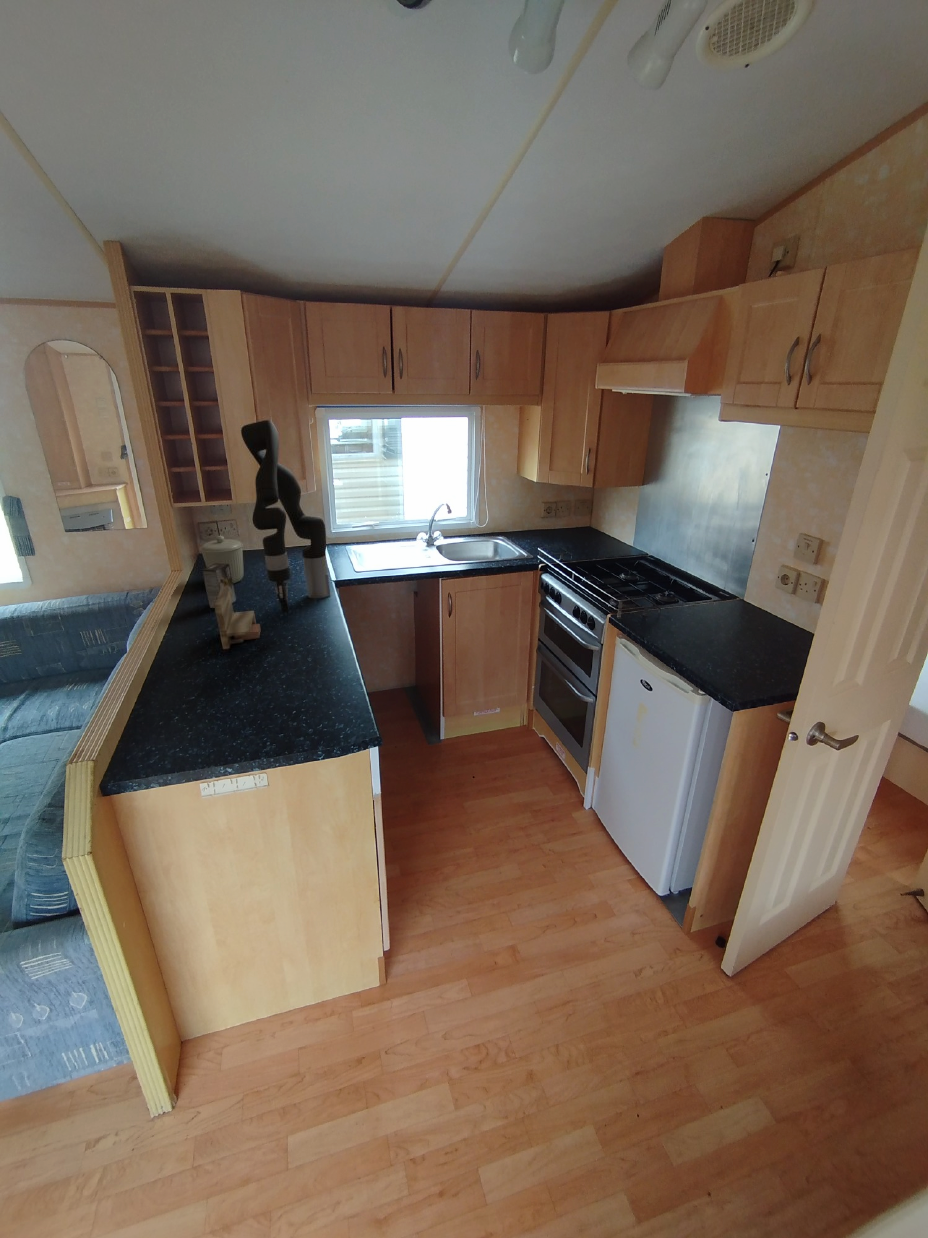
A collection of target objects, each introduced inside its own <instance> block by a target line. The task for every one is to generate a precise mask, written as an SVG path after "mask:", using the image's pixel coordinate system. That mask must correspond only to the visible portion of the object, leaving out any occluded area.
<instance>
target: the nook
mask: <svg viewBox="0 0 928 1238" xmlns="http://www.w3.org/2000/svg"><path fill="white" fill-rule="evenodd" d="M214 607H215V608H214V611H215V616H216V620H217V624H218V625H217V626H218V632H219V635H220V641H221V645H222V649H223V650H228V649H230V647H231V645H232V644H241V643H244V640H243V638H236V639H235V638H234V635H244V634H249V632H250V628H251V625H253V624H257V622H256V615H255V610H246V611H237V612H234V607H233V603H232V601H231V596H230V590H229V586H222V589H221V591H220V593H219V595H218V597H217V600H216V602H215V604H214Z"/></svg>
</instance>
